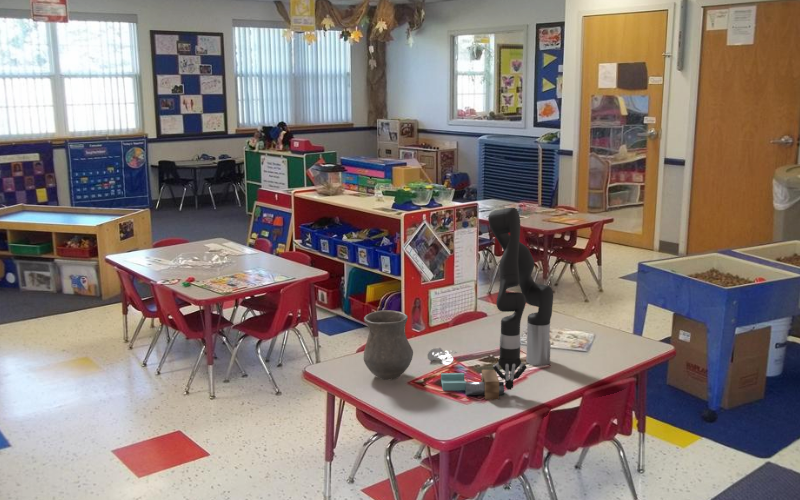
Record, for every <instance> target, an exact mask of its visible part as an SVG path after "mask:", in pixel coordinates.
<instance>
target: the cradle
mask: <svg viewBox="0 0 800 500" xmlns="http://www.w3.org/2000/svg"><path fill="white" fill-rule="evenodd" d="M440 381H441V382H440V383H441V389H442V391H465V382H467V381H466V380H465V373H464V372H451V373H448V372H444V373H442V372H441V373H440Z"/></svg>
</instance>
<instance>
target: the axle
mask: <svg viewBox="0 0 800 500" xmlns="http://www.w3.org/2000/svg"><path fill="white" fill-rule="evenodd" d="M464 391H465V393H464V394H465V396H485V382H482V381H469V382H468V381H466V382H465V390H464ZM500 395H505V382H504V381H499V396H500Z"/></svg>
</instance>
